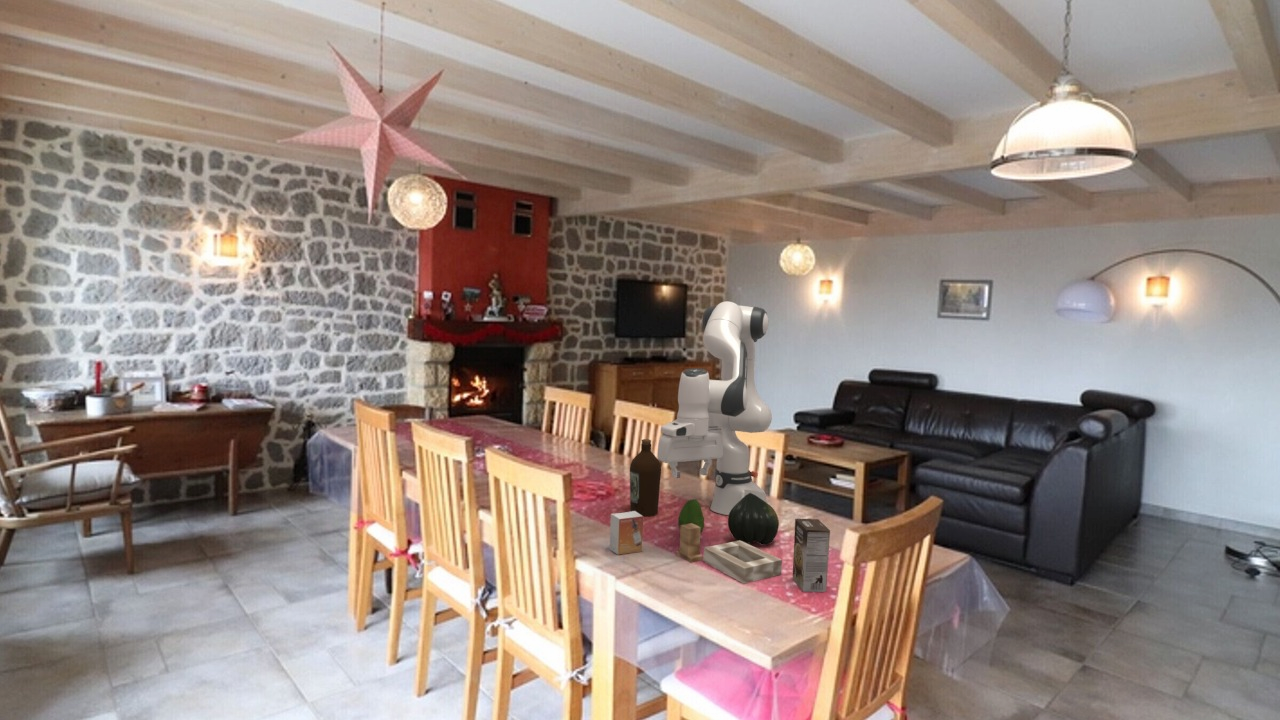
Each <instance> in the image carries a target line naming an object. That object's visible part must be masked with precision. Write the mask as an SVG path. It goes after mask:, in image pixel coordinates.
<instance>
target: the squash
mask: <svg viewBox="0 0 1280 720" xmlns="http://www.w3.org/2000/svg"><path fill="white" fill-rule="evenodd" d="M767 503H768V502H767V501H766V502H765V501H763V500H762V499H760V498H759V497H757V496H756V495H754V494H752V493H749V494H747V495H746V496H744V497H743V498H742V499H741V500H740V501H739V502H738V503H737V504H736V505H735V506H734V507H733V508H732V509H731V511H730V513H729V515H728V518H727V526H728V529H729V533H730V534H731V535H732V536H731V537H733V539H735V541H739V540H740V541H743V542H745V543H747V544H753V543H758V544H759V545H762V546H768V545H771V544H772V542H773V541H774V540H775V538H776V536H777V534H778V532H779V528H780V527H779V525H780V522H779V521H780V520H779V517H778V514H777V512H776V511H775V508H774V507H773V506H772V507H773V508H772V507H771V506H770V505H771V504H770V503H768V504H767ZM769 504H770V505H769Z"/></svg>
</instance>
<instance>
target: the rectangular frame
mask: <svg viewBox="0 0 1280 720" xmlns="http://www.w3.org/2000/svg"><path fill="white" fill-rule="evenodd" d="M702 562H703V563H705V564H707V565H709V566H710V567H712V568H714V569H716V570H718V571H719V572H721V573H724V574H725V575H727V576H729V577H731V578H733V579H734V580H736V581H738V582H740V583H741V584H748V583H751V582H752V583H753V582H757V581H761V580H764V579H769V578H772V577H777V576H781V575H782V571H783V570H782V568H783V567H782V565H783V560H782V559H781V558H779V557H777V556H775V555H772V553H771V554H770V553H768V552H767V551H764V550H761V549H759V548H758V547H755V546H753V545H751V544H750V543H745V542H743V541H740V540H739V541H737V540H735V541H731V542H725V543H720V544H716V545H710V546H706V547H704V548H703V560H702Z"/></svg>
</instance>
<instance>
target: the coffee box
mask: <svg viewBox="0 0 1280 720" xmlns="http://www.w3.org/2000/svg"><path fill="white" fill-rule="evenodd" d="M794 520H795V521H794V535H793V536H794V541H793V560H792V563H793V564H792V566H793V567H792V579H793V580H794V582H795V583H796V585H797V586H798V587H799V589H801V591H802V592H803V593H826V592H827V585H828V584H827V583H828V567H829V555H830V552H829V551H830V538H831V530H830V528H829V527H827V526H826V525H825V524H824V523H823V522H822V521H821V520H820V519H819V518H813V519H812V518H795V519H794Z"/></svg>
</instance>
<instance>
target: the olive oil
mask: <svg viewBox="0 0 1280 720" xmlns="http://www.w3.org/2000/svg"><path fill="white" fill-rule="evenodd" d="M640 446H641V447H640V449H641V450H640V451H639V452H638V454H637V455H636V456H634V458H632V460H631V462H630V466H629V490H630V491H629V492H630V493H629V496H630V497H629V499H630V503H629V505H630V506H629V512H632V511H636V512H637V513H639V514H641V515H642V516H643V518H645V517H646V518H647V517H654V516H656V515H657V514H658V513H659V503H660V502H659V501H660V500H659V499H660V488H661V487H660V486H661V478H662V477H661V476H662V465H661V461H660V460H659V459H658V457H657V456H656V455H655V454H654V453H653V452H652V440H651V439H648V438H647V439H646V438H644V439H641V445H640Z"/></svg>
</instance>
